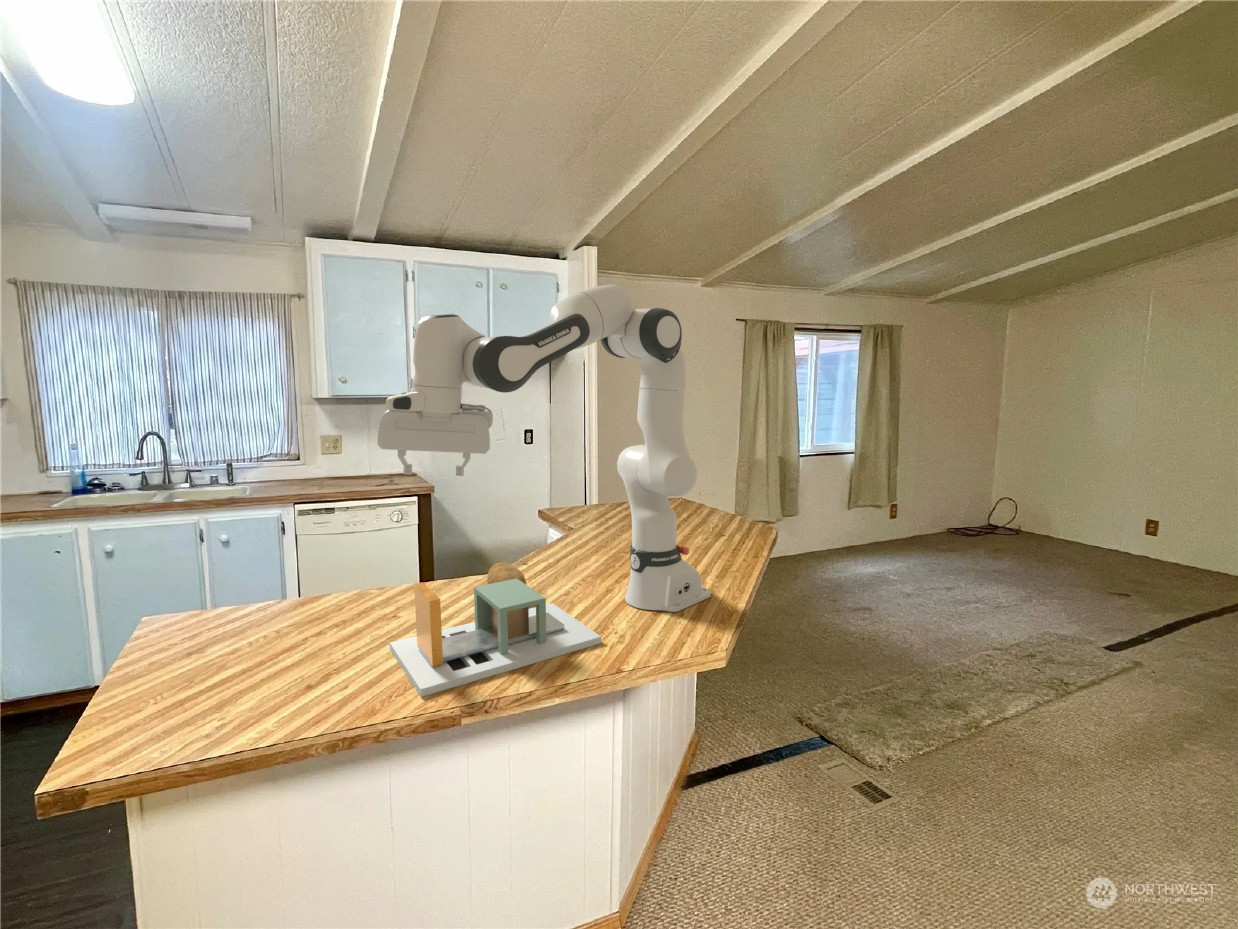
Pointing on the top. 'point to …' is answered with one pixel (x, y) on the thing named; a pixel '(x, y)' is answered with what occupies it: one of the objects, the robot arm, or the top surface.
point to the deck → (490, 654)
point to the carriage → (468, 642)
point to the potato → (504, 573)
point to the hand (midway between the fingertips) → (434, 474)
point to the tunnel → (508, 608)
